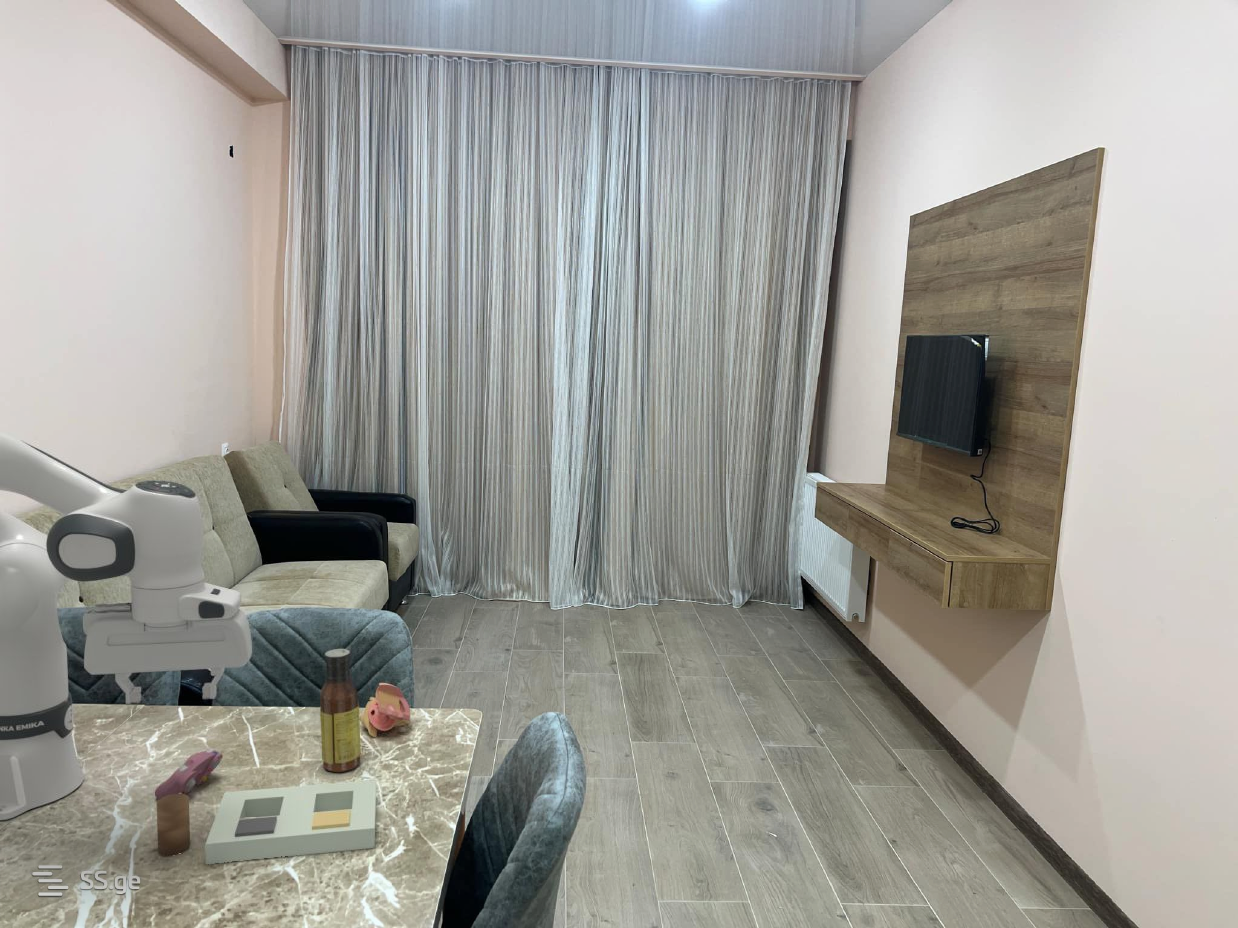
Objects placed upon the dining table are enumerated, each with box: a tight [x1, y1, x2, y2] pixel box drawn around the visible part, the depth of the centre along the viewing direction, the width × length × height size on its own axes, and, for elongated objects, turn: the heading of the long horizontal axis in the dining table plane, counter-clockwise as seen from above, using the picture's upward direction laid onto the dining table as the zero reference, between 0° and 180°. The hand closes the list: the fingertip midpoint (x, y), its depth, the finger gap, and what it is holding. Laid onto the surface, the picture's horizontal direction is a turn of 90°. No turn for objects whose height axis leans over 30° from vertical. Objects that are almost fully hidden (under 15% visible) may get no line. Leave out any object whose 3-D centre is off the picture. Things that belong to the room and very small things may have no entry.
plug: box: [156, 793, 191, 857], centre depth 120 cm, size 4×4×7 cm
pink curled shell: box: [359, 682, 411, 738], centre depth 160 cm, size 9×10×10 cm
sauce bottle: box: [319, 648, 362, 773], centre depth 145 cm, size 6×6×20 cm
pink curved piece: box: [154, 747, 223, 800], centre depth 136 cm, size 10×5×7 cm, turn 169°
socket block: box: [204, 779, 377, 866], centre depth 126 cm, size 22×14×4 cm, turn 105°
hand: (172, 699), depth 118 cm, fingers open, 8 cm apart
